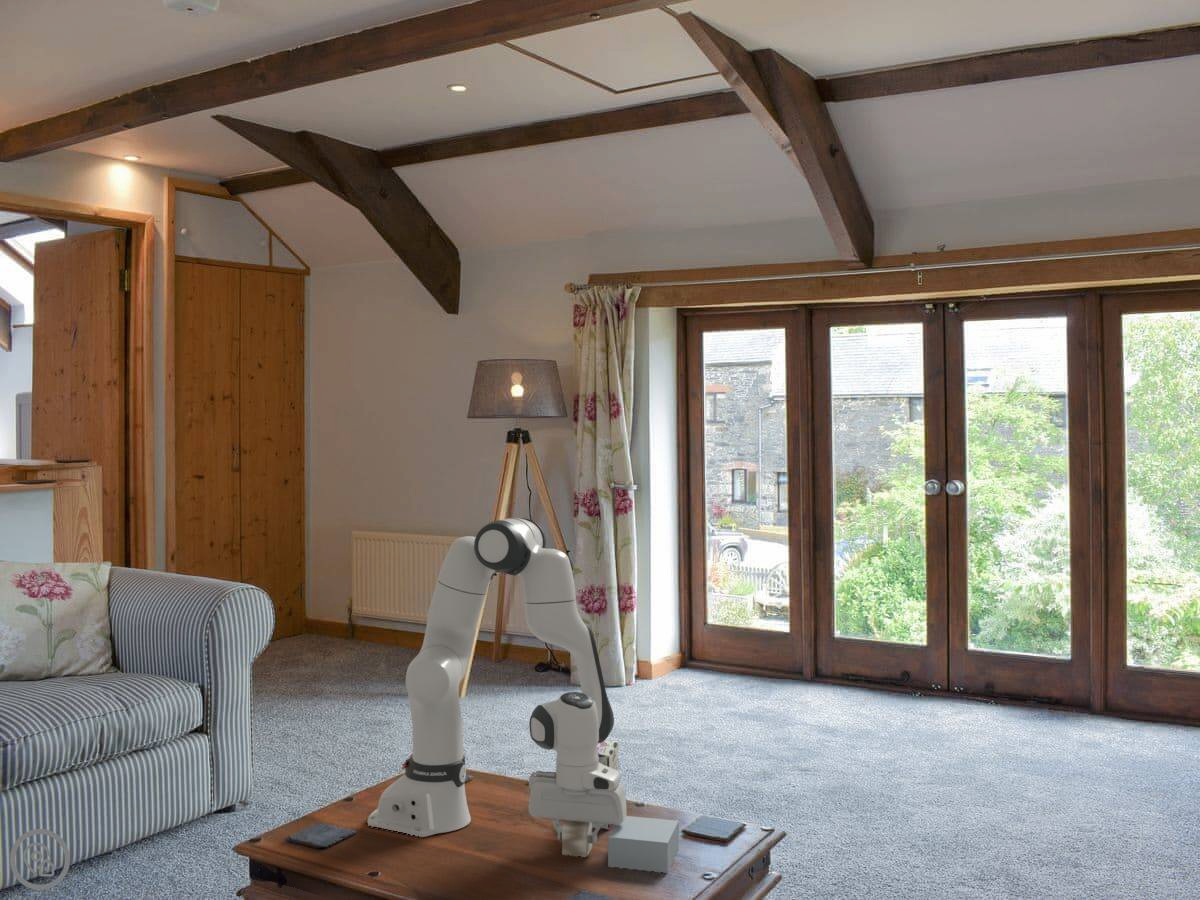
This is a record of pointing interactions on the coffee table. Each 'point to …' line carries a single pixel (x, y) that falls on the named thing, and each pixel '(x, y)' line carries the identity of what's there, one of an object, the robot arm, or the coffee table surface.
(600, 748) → the candy bar box
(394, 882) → the coffee table surface
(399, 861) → the coffee table surface
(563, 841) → the cream block
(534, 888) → the coffee table surface
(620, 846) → the slate block
